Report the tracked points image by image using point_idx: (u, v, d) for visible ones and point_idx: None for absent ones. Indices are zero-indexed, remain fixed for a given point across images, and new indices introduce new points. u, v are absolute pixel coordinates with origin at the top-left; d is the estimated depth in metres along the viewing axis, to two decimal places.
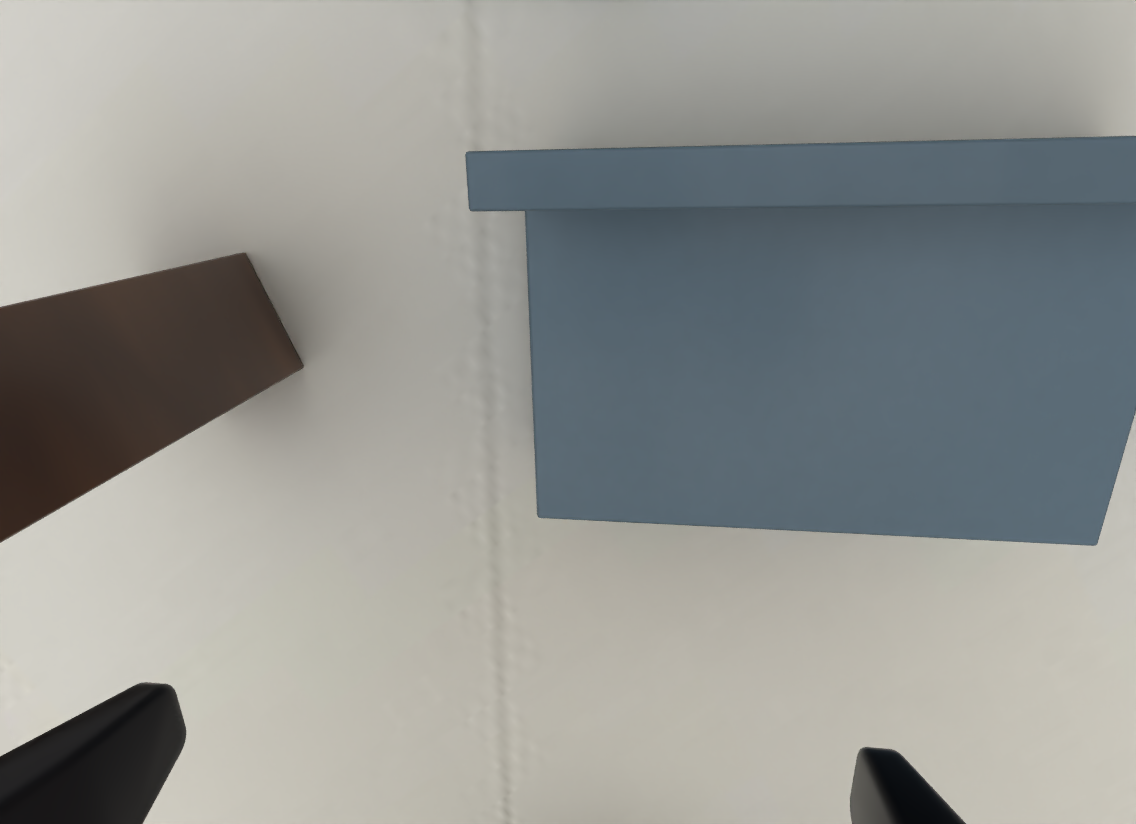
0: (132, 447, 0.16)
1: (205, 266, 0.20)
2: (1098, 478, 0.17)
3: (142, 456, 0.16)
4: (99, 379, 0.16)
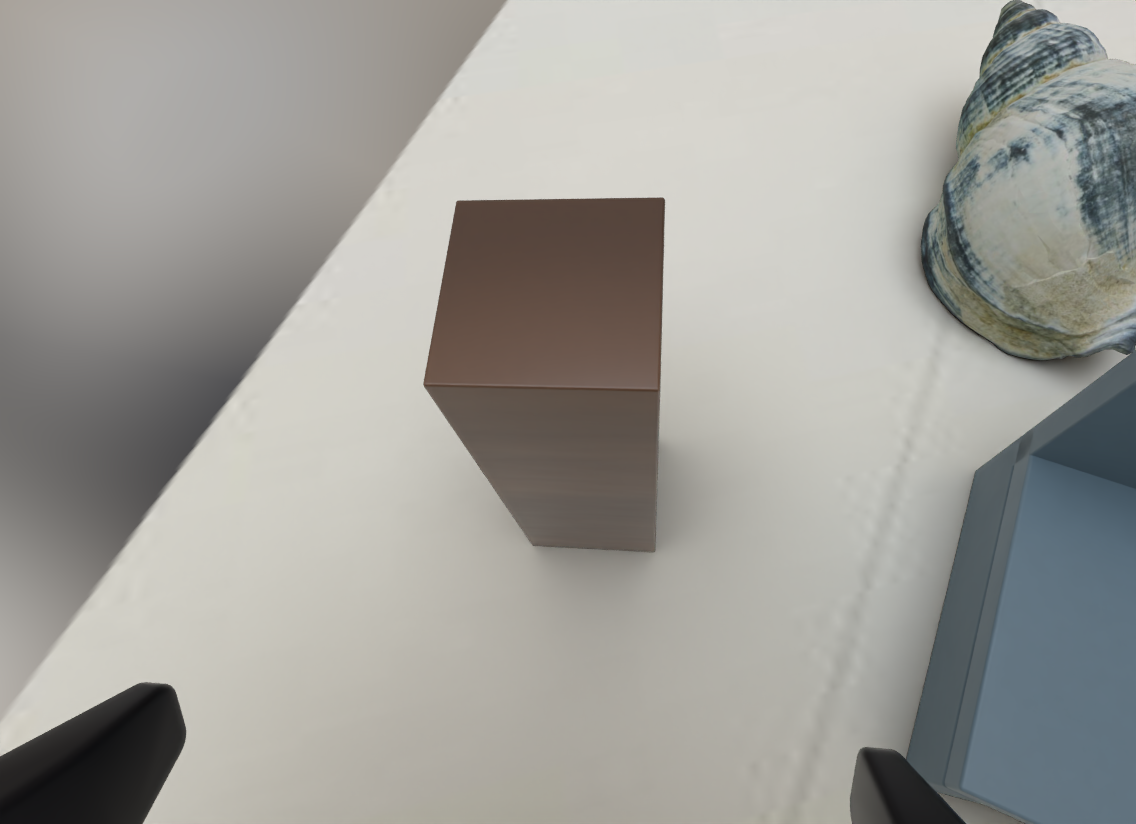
0: None
1: None
2: None
3: None
4: None
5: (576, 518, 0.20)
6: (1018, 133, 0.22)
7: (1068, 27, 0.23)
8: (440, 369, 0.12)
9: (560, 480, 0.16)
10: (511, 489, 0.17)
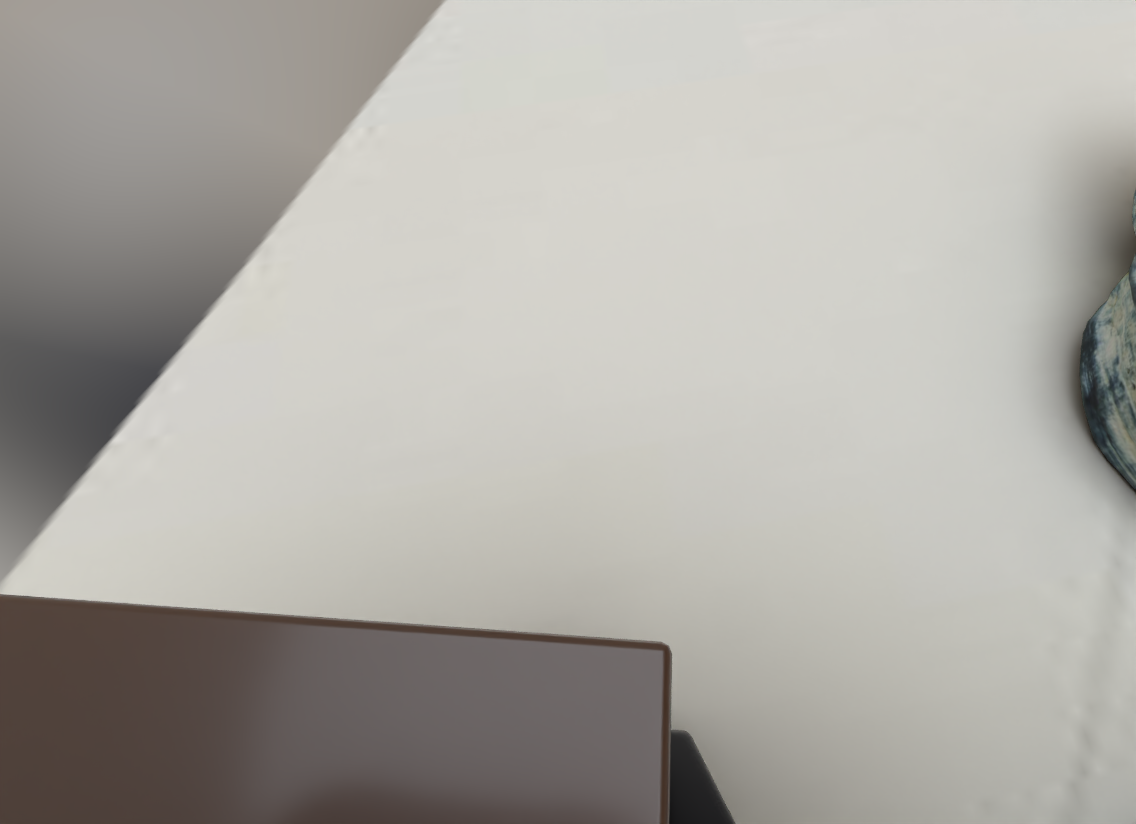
0: None
1: None
2: None
3: None
4: None
5: None
6: None
7: None
8: None
9: None
10: None
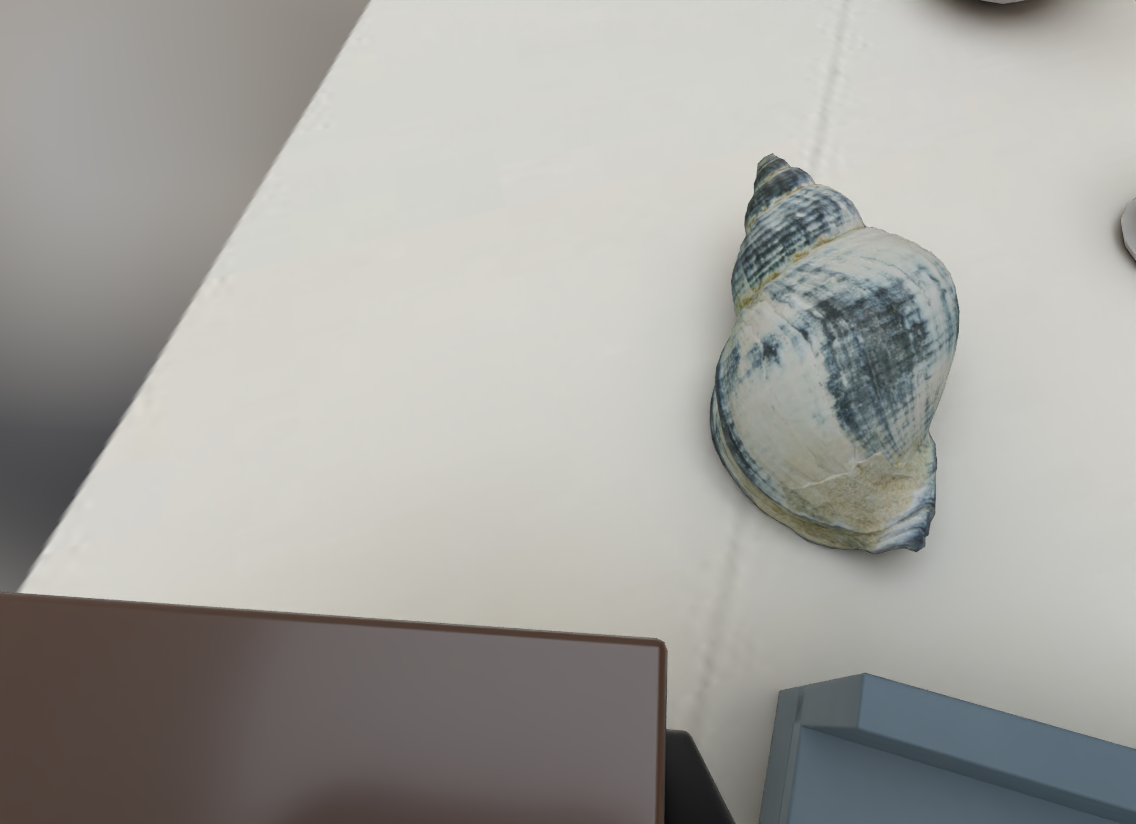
0: None
1: None
2: None
3: None
4: None
5: None
6: (769, 328, 0.20)
7: (817, 193, 0.22)
8: None
9: None
10: None
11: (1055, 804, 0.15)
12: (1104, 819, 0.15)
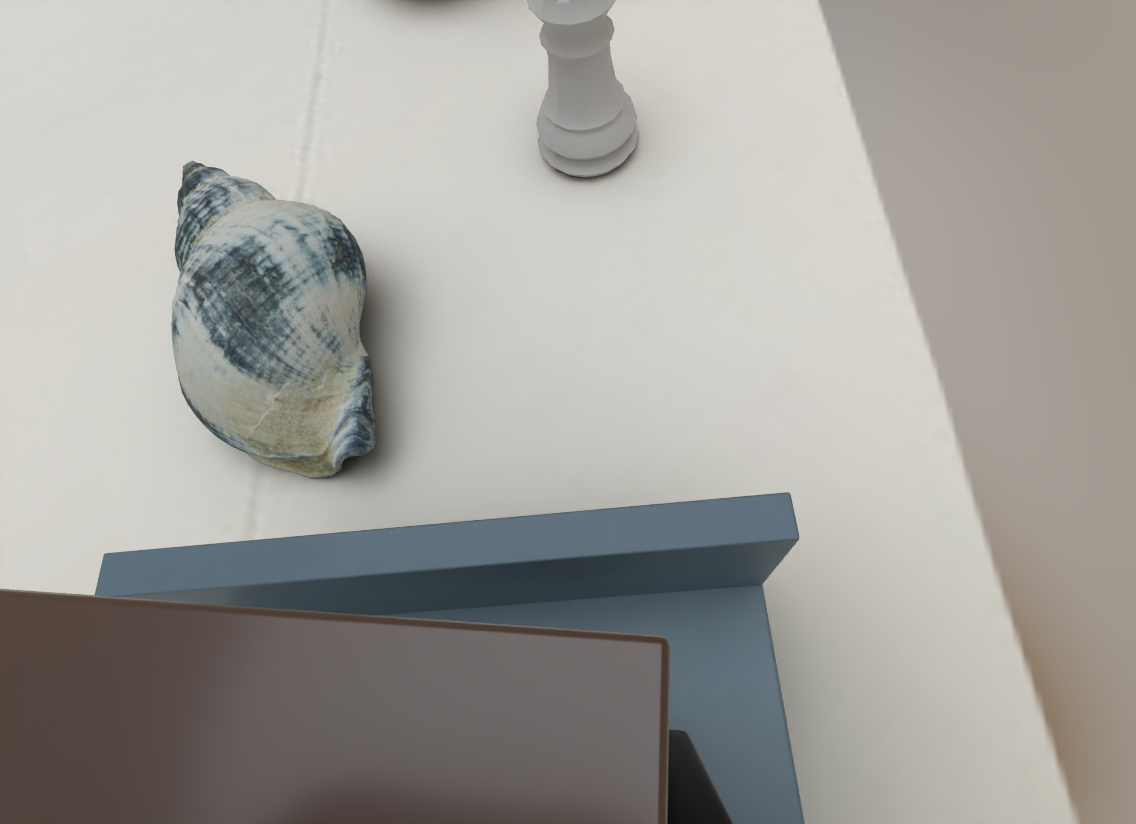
0: None
1: None
2: None
3: None
4: None
5: None
6: (173, 307, 0.23)
7: (212, 184, 0.24)
8: None
9: None
10: None
11: (419, 612, 0.19)
12: (455, 610, 0.19)
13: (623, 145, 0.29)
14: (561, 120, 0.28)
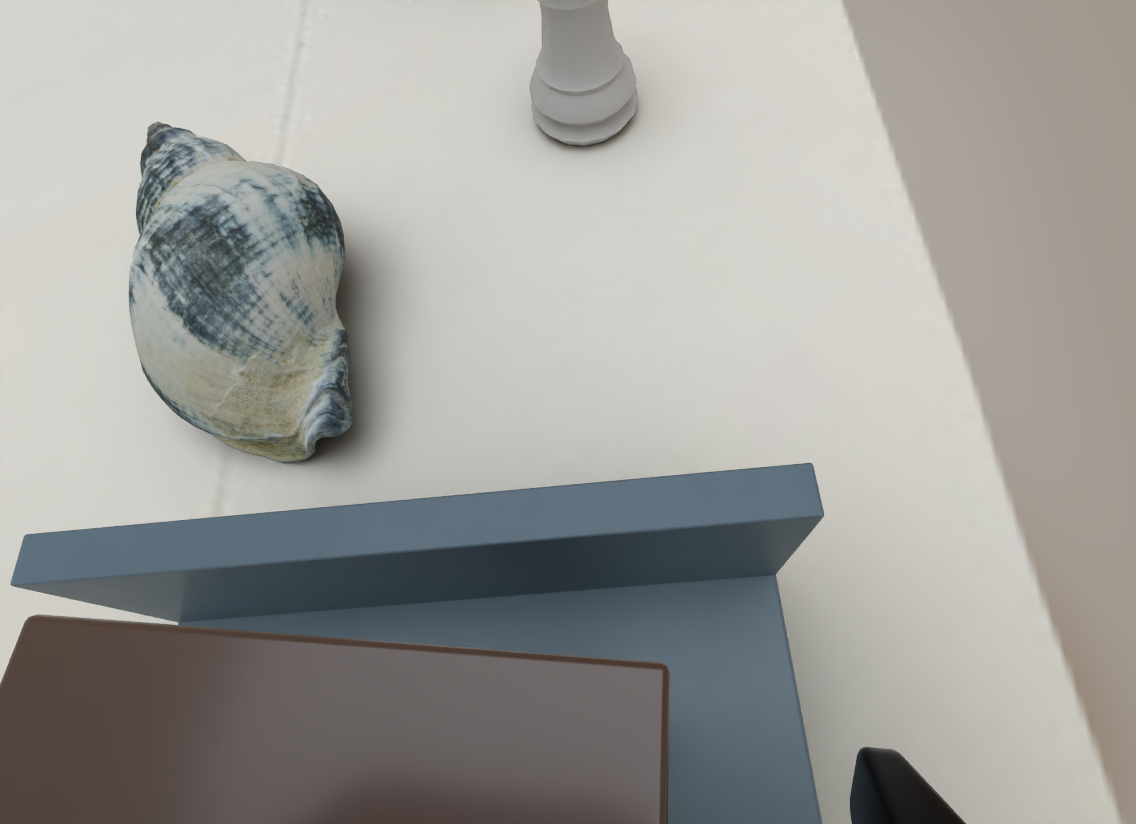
0: None
1: None
2: None
3: None
4: None
5: None
6: (130, 274, 0.21)
7: (176, 144, 0.23)
8: None
9: None
10: None
11: (393, 605, 0.17)
12: (433, 603, 0.17)
13: (622, 110, 0.27)
14: (555, 82, 0.26)
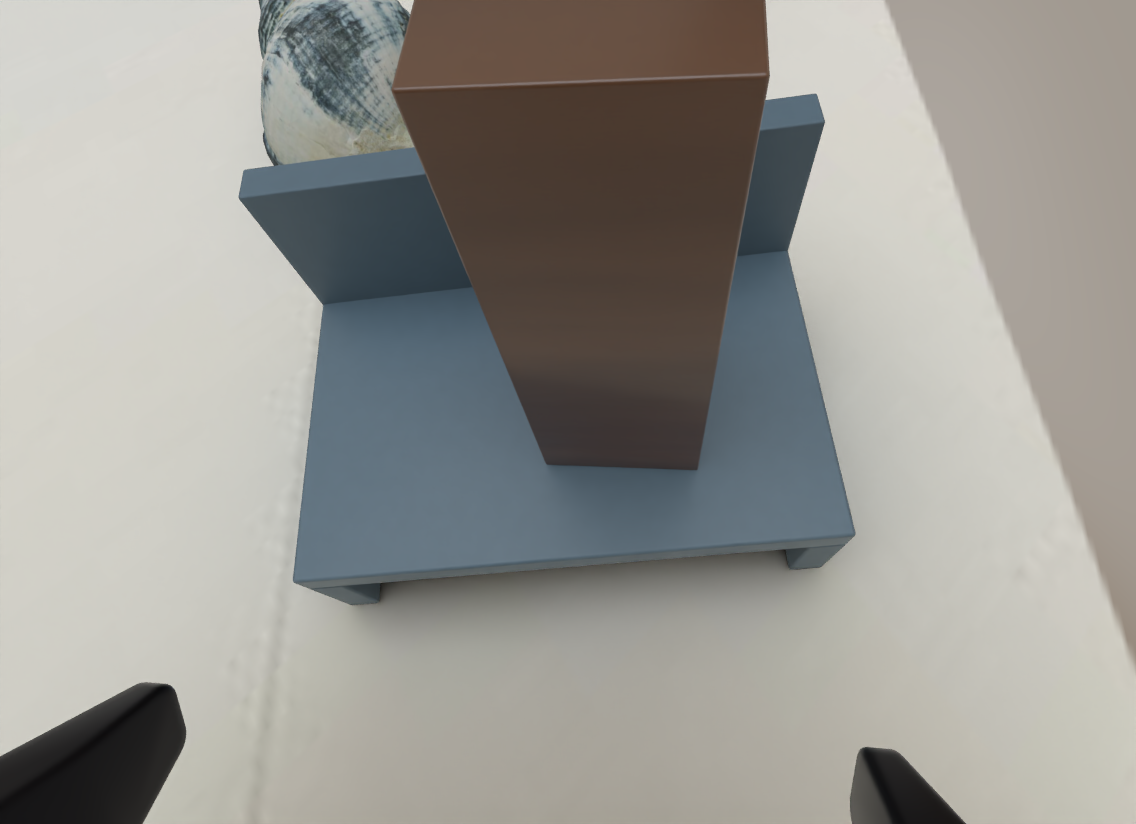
0: None
1: None
2: (822, 464, 0.18)
3: (726, 312, 0.11)
4: None
5: (605, 409, 0.15)
6: (264, 65, 0.26)
7: None
8: (418, 68, 0.08)
9: (589, 327, 0.12)
10: (522, 352, 0.13)
11: None
12: None
13: None
14: None
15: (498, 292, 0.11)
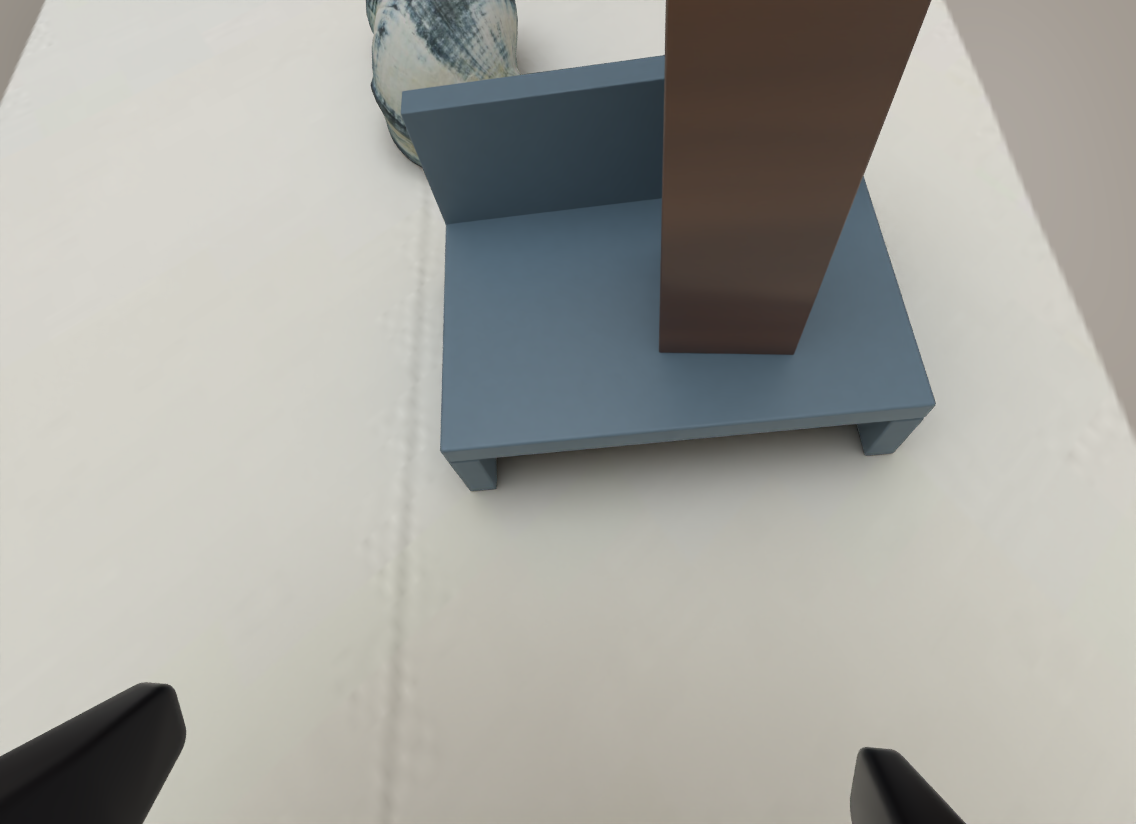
0: None
1: None
2: (903, 348, 0.21)
3: (865, 168, 0.14)
4: None
5: (733, 281, 0.18)
6: (379, 18, 0.28)
7: None
8: None
9: (748, 186, 0.15)
10: (682, 216, 0.16)
11: (598, 205, 0.24)
12: (626, 202, 0.24)
13: None
14: None
15: (683, 150, 0.14)
